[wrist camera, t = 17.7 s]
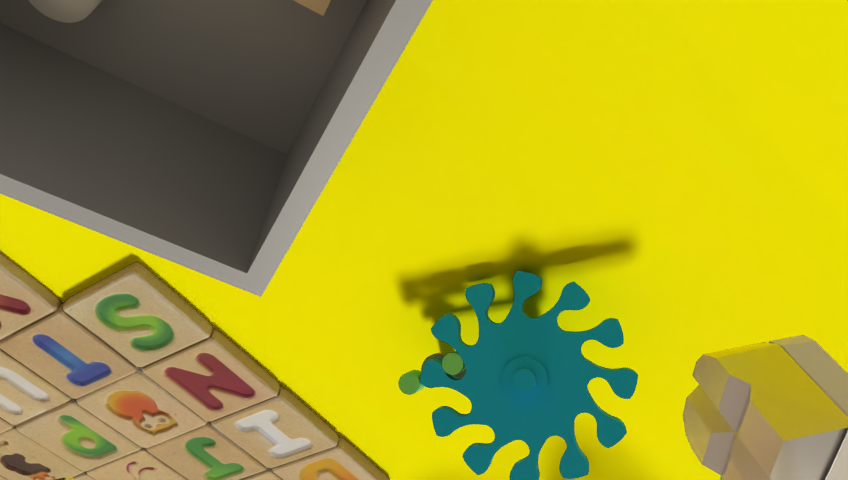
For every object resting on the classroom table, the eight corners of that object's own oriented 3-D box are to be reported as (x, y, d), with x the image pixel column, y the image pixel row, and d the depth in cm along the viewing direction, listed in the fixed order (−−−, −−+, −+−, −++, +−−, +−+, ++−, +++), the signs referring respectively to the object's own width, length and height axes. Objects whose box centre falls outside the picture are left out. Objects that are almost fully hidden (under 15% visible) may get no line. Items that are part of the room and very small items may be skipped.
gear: (639, 272, 33) (637, 502, 32) (633, 275, 38) (631, 471, 38) (398, 267, 35) (392, 481, 34) (426, 271, 41) (421, 454, 40)
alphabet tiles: (50, 178, 33) (40, 192, 32) (439, 517, 51) (438, 532, 50) (-253, 373, 44) (-266, 387, 43) (156, 598, 61) (152, 611, 60)
